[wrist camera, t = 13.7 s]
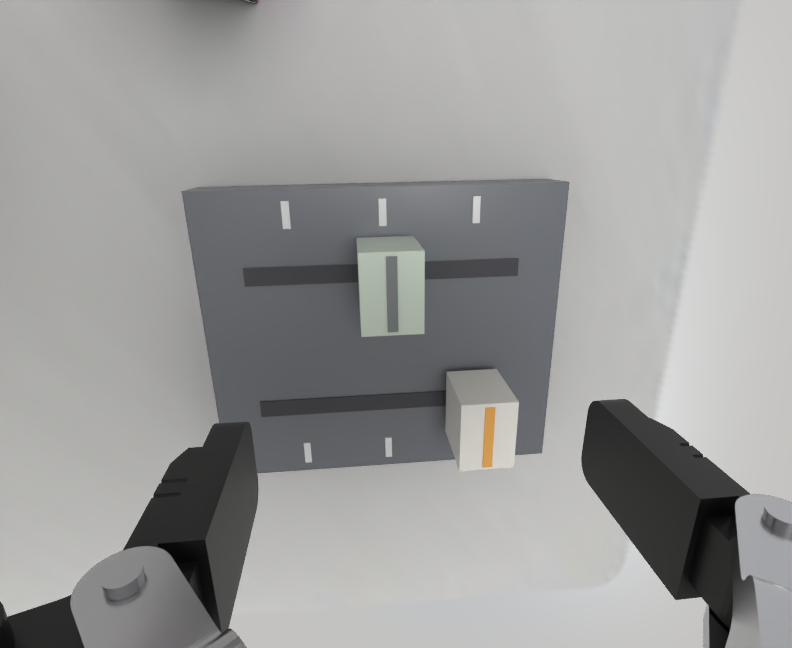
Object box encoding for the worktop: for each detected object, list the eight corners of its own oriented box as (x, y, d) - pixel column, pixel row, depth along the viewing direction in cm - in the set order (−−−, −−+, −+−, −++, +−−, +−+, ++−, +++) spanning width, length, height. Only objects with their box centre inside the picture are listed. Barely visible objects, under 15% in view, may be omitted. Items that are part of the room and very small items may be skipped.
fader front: (359, 310, 26) (361, 337, 23) (356, 237, 25) (357, 253, 21) (413, 308, 27) (424, 334, 23) (413, 235, 25) (425, 251, 21)
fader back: (445, 430, 30) (459, 472, 26) (446, 371, 28) (461, 406, 24) (493, 427, 30) (514, 468, 26) (496, 368, 28) (519, 402, 25)
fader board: (238, 447, 33) (227, 476, 30) (199, 187, 27) (181, 191, 24) (525, 428, 34) (542, 454, 31) (547, 178, 28) (570, 182, 26)
